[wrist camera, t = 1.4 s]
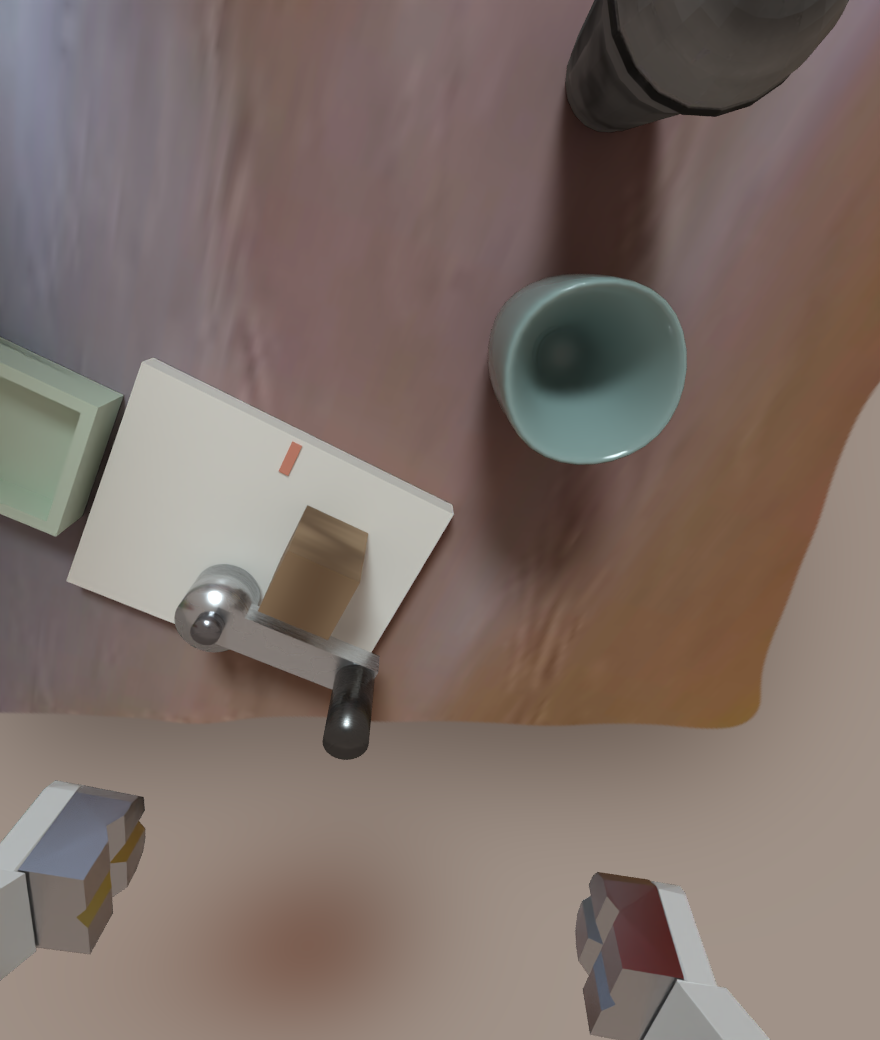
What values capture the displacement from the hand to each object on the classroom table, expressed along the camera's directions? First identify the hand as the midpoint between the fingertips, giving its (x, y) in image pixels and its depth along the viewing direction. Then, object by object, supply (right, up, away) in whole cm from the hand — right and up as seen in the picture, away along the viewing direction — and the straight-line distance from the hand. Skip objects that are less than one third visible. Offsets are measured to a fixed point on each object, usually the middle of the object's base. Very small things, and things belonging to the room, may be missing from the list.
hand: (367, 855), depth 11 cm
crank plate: (-10, +5, +27) cm, 29 cm away
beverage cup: (+10, +27, +18) cm, 34 cm away
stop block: (-6, +4, +26) cm, 27 cm away
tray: (-22, +11, +24) cm, 35 cm away
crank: (-8, 0, +27) cm, 29 cm away
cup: (+7, +16, +23) cm, 29 cm away
